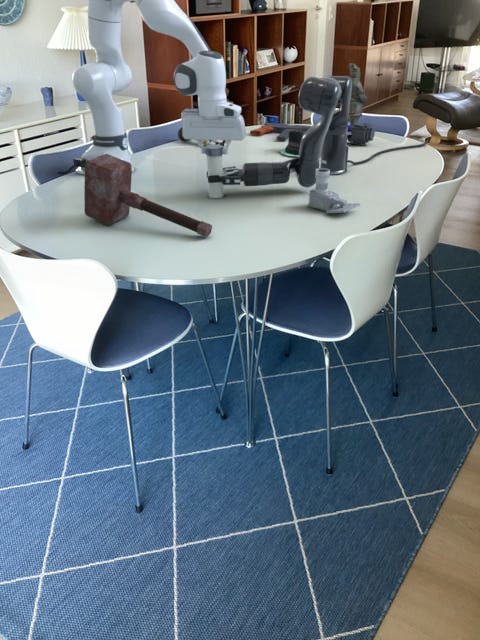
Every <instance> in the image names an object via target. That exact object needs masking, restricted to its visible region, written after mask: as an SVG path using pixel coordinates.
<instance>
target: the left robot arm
mask: <svg viewBox="0 0 480 640" xmlns="http://www.w3.org/2000/svg"><path fill="white" fill-rule="evenodd" d="M127 2H130V4H133V3H135V5H136V7H137V11H138V12H139V14H140V16H141V18H142V20H143V22H144V23H145V24H146V26H148V27H149V29H151V31H154V32H156V33H159V34H163V35H167V36H169V37H172V38H174V39H177V40H179V41H180V42H182V43H183V44H184V45H185V46H186V48H187V50H188V51H189V53H190V55H191V56H192V59H190V60H187V61H185V62H183V63H180V64H178V65H177V66H176V67H175V69H174V72H173V84H174V87H175V88H176V89H175V90H177V92H178V93H179V94H180V95H182V96H187V97H188V96H189V97H191V96H197V103H198V104H197V105H198V106H197V107H198V108H185V109H183V110H182V111H181V114H180V116H181V117H180V118H181V122H182V127H181V128H182V136H183V137H184V139H192V140H194V141H196V142H197V143H196V144H197V145H198V146H199V148H200V151H201V155H206V154H205V147H206V146H205V145H204V144H202V142H203V140H216V141H223V140H225V146H224V147H223V149H222V151H223V152H222V155H228V154H229V147H230V145H231V144H232V141H238V142H241V141H243V140H244V139H245V138H246V135H247V134H246V124H245V118H244V117H243V115H242V114H241V113H242V107H241V106H240V105H238V104H235V103H231V102H229V101H227V100H228V99H227V94H226V86H227V70H226V64H225V60H224V57H223V55H222V54H221V53H220V52H217V51H214V50H212V49H211V48H210V46H209V45H208V43H207V41H206V39H205V38H204V36H203V35H202V33H201V32H200V31H199V29H198V27H197V26H196V24H195V23H194V21H193V19H191V18H190V17H189V16H188V14H186V13H185V12H184V10H182V9H181V7H180V6H179V4H177V2H176V1H175V0H88V5H87V6H88V7H87V41H88V42H87V43H88V44H89V45H90V46H91V47H92V48H93V49H94V52H95V55H96V61H95V62H88V63H85V64H83V65H80V66H79V67H77V68H75V70H74V71H73V73H72V85H73V87H74V90H75V91H76V93H78V94H79V95H80V96H81V97H83V99H84V100H85V101H86V104H87V105H88V107H89V110H90V112H91V115H92V121H93V126H94V133H95V134H93V135H92V136H90V137H89V141H92V145H91V146H90V147H88V148H87V149H86V150H85V151H84V152H83V153H82V154H81V157H76V158H73V159H72V161H73V165H71V166H70V167H69V168H68V169H67V170H65V171H60V170H58V171H57V174H62V175H63V174H68V173H70V172H71V171H72V169H74V168H75V167H77V168H76V169H75V174H79V175H84V176H85V163H86V161H87V160H90V159H93V158H96V157H99V156H101V155H104V154H109V155H111V156H114V157H116V158H119V159H122V160H124V161H127V162H129V163H130V164H131V165H132V172H134V171H135V168H134V165H133V164H132V160H131V156H130V152H129V142H128V135H127V132H126V126H125V119H124V118H125V117H124V112H123V110H122V109H121V107H118V106H117V105H116V103H115V101H114V99H113V95H112V94H115V93H119V92H122V91H123V90H125V89H127V88H128V87H130V85H131V83H132V79H133V75H132V71H131V68H130V66H129V65H128V64H127V63H126V61H125V59H124V56H123V50H122V41H121V40H122V9H123V5H124V4H125V3H127ZM192 140H191V141H192Z"/></svg>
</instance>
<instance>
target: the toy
mask: <svg viewBox="0 0 480 640" xmlns="http://www.w3.org/2000/svg"><path fill="white" fill-rule="evenodd" d="M357 124H358V123H357ZM357 124H355V125H354V127H352V124H350V122H348V133H347V142H349V143H352V145H358V146H359V145H360V146H366V144H367V143H369V142H373V140H374V138H375V133H376V129H375V127H374V126H372V123H370V122H363V124H358V125H357Z"/></svg>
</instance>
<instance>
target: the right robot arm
mask: <svg viewBox="0 0 480 640" xmlns="http://www.w3.org/2000/svg"><path fill="white" fill-rule="evenodd" d="M351 90H352V81H351V77H350V76H347V75H328V76H327V75H326V76H325V77H317V76H308V77H307V78H306V79H304V81H303V82H302V84H301V85H300V88H299V91H298V96H297V101H298V105H299V108H301V109H302V110H303V111H306V112H309V113H313V114H316V115H320V116H321V117H320V119H318V121H317V122H316V123H314V124H313V125H311V126H312V127H311V128H309V129H308V130H307V131H306V132H305V134H304V135H303V137H302V139H301V144H300V150H299V157H297V156H296V157H294V158H291V159H288V160H284V161H277V162H268V161H266V162H265V161H263V162H262V161H261V162H245V163H243V165H242V169H241V168H238V167H237V166H235V165H233V166H226V167H223V175H220V177H219V175H213V176H208V170H206V178H207V183H208V182H209V183H218V182H220V183H222V185H223V186H240V185H241V182H243V185H244V186H245V187H260V186H263V187H264V186H270V185H280V184H281V185H283V184H287V183H288V182H289V181H290V178H291V174H294V173H295V175H296V180H297V183H298V184H299V185H300V186H301V187H303V188H312V187H313V186H315V185H316V178H315V173H316V169H318V168H327V169H329V170H330V175H342V174H344V173H345V172H347V170H348V164H349V163H350V164H351V165H360V164H364V163H366V162H369V161H372V159H373V158H374V157H376V156H378V155H381V154H383V153H387V152H391V151H398V150H405V149H413V148H420V147H424V146H426V145H427V144H429V143H430V139H426V140H425V141H424V143H420V144H413V145H406V146H398V147H393V148H392V147H391V148H387V149H383V150H380V151H378V152H376V153H373V154H372V155H370V157H368V158H365V159H363V160H360V161H353V160H350V159H349V145H348V140H347V133H348V119H349V106H350V98H351ZM337 105H340V107H339V108H338V109H337ZM320 155H321V156H320Z"/></svg>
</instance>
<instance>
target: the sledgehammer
mask: <svg viewBox="0 0 480 640" xmlns="http://www.w3.org/2000/svg"><path fill="white" fill-rule="evenodd" d="M132 165H133V164H132ZM132 165H131V164H130V163H129V162H127V161H124V160H122V159H119V158H116V157H114V156H111V155H109V154H104V155H101V156H99V157H96V158H93V159H90V160H87V161H86V163H85V175H84V193H83V194H84V197H83V199H84V200H83V201H84V215H85V216H86V217H88V218H90V219H92V220H95V221H97V222H99V223H101V224H104V225H107V226H112V225H114V224H115V223H118V222H119V221H121V220H123V219H125V218H127V217H129V216H130V208H132V209H137V210H139V211H141V212H143V211H144V212H146V213H149V214H151V215H154V216H156V217H159V218H160V219H163V220H166V221H168V222H171V223H173V224H175V225H178V226H180V227H183V228H184V229H187V230H190V231H193V232H195V233H196V234H198V235H200V236H202V237H205V238H208V237H209V236H210V235H211V233H212V230H213V224H211V223H208V222H205V221H203V220H201V221H200V220H198V219H196V218H193V217H190V216H188V215H185V214H183V213H181V212H179V211H176V210H174V209H171V208H168V207H166V206H164V205H161V204H159V203H157V202H155V201H151V200H149V199H148V198H146V197H143V196H141V195H139V193H136V192H132V174H133V171H132Z"/></svg>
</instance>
